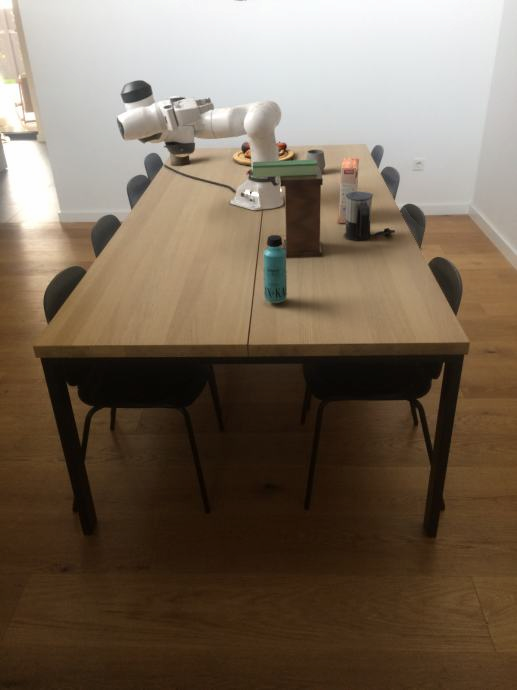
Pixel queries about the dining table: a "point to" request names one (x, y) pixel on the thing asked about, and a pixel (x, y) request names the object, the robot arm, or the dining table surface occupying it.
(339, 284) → the dining table surface
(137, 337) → the dining table surface
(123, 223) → the dining table surface
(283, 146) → the wooden plate
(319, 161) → the cup
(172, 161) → the pillar candle
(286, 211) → the walnut stand
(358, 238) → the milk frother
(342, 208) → the cracker box
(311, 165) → the green rectangular bar
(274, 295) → the beverage bottle
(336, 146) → the dining table surface
